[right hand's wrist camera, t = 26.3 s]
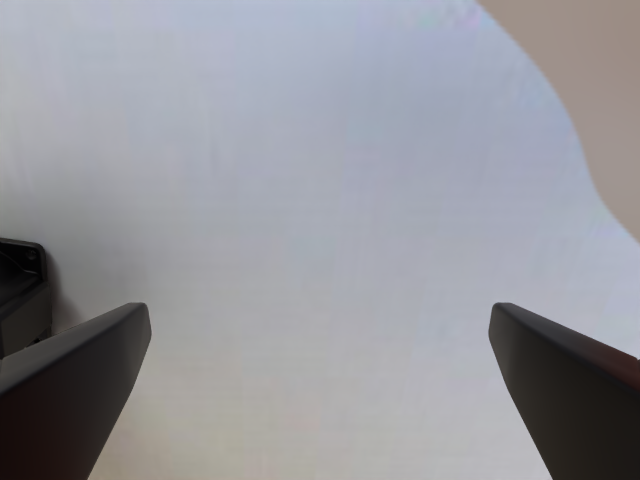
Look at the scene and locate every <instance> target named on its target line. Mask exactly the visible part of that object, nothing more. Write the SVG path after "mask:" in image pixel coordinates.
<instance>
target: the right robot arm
mask: <svg viewBox="0 0 640 480" xmlns="http://www.w3.org/2000/svg"><path fill="white" fill-rule="evenodd" d="M31 250H33V251H34V252H35V253H36V256H35V255H33V254H32V252H31ZM51 323H52V312H51V297H50V286H49V284H48V282H47V267H46V253H45V249H44V248H43V247H42V246H41V245H40V244H37V243H33V242H26V241H19V240H12V239H5V238H0V480H87V479H88V477H89V475H90V473H91V471H92V469H93V467H94V465H95V463H96V461H97V459H98V457H99V455H100V453H101V451H102V449H103V447H104V445H105V443H106V441H107V439H108V437H109V435H110V433H111V431H112V429H113V427H114V425H115V423H116V421H117V419H118V417H119V415H120V413H121V411H122V409H123V407H124V405H125V403H126V401H127V399H128V397H129V395H130V393H131V391H132V389H133V386H134V384H135V381H136V379H137V376H138V373H139V370H140V368H141V365H142V362H143V359H144V357H145V354H146V351H147V348H148V346H149V343H150V340H151V325H150V319H149V312H148V308H147V305H146V304H145V303H128V304H125V305H123V306H121V307H119V308H116V309H114V310H112V311H109V312H107V313H105V314H103V315H100V316H98V317H96V318H93V319H91V320H89V321H87V322H84V323H82V324H80V325H77V326H75V327H73V328H71V329H68V330H66V331H64V332H61V333H59V334H57V335H55V336H52V337H51ZM39 339H41V340H42V341H40V340H39ZM489 340H490V343H491V346H492V348H493V351H494V354H495V357H496V359H497V362H498V365H499V368H500V370H501V373H502V376H503V379H504V381H505V384H506V386H507V389H508V391H509V393H510V395H511V397H512V399H513V401H514V403H515V405H516V407H517V409H518V411H519V413H520V415H521V417H522V419H523V421H524V423H525V425H526V427H527V429H528V431H529V433H530V435H531V437H532V439H533V441H534V443H535V445H536V447H537V449H538V451H539V453H540V455H541V457H542V459H543V461H544V463H545V465H546V467H547V469H548V471H549V473H550V475H551V477H552V479H553V480H640V360H637V358H636V357H633V356H631V355H629V354H627V353H624V352H622V351H620V350H617V349H615V348H613V347H611V346H608V345H606V344H604V343H601V342H599V341H597V340H595V339H592V338H590V337H588V336H585V335H583V334H581V333H579V332H576V331H574V330H572V329H569V328H567V327H565V326H563V325H560V324H558V323H556V322H553V321H551V320H549V319H547V318H544V317H542V316H540V315H537V314H535V313H533V312H531V311H528V310H526V309H524V308H521V307H519V306H517V305H515V304H512V303H495V304H494V305H493V308H492V312H491V319H490V325H489ZM25 347H26V348H25ZM24 348H25V349H24Z"/></svg>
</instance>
